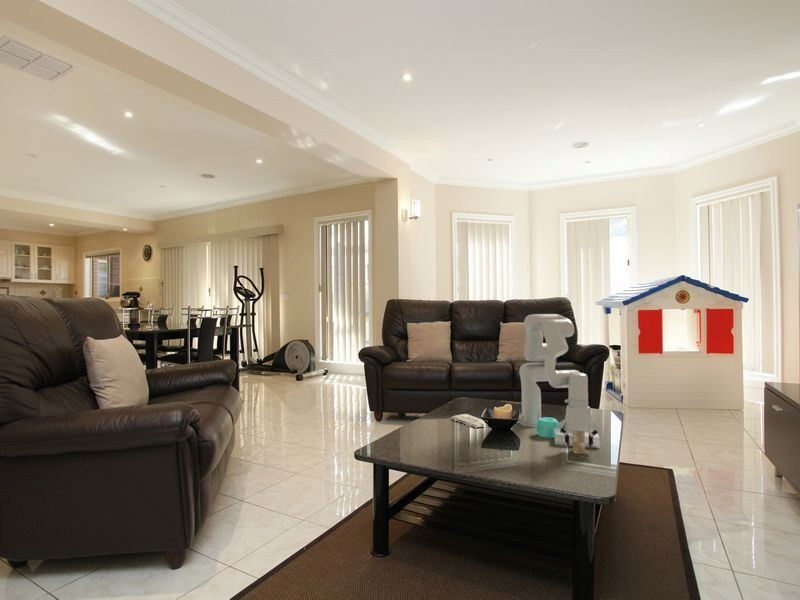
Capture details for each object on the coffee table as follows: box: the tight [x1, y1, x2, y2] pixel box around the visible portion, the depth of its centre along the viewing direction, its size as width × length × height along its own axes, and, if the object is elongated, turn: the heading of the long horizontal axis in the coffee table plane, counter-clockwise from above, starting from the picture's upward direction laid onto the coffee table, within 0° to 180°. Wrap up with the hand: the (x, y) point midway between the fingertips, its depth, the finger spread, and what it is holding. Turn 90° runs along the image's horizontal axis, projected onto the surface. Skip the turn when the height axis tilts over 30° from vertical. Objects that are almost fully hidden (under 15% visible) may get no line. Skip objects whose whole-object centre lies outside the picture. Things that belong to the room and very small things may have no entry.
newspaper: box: [451, 413, 487, 429], centre depth 231 cm, size 23×12×2 cm, turn 27°
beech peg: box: [572, 431, 586, 455], centre depth 183 cm, size 4×4×10 cm
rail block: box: [553, 428, 601, 449], centre depth 196 cm, size 18×10×5 cm, turn 73°
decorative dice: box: [535, 416, 559, 439], centre depth 208 cm, size 8×8×8 cm
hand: (578, 444), depth 183 cm, fingers open, 8 cm apart
